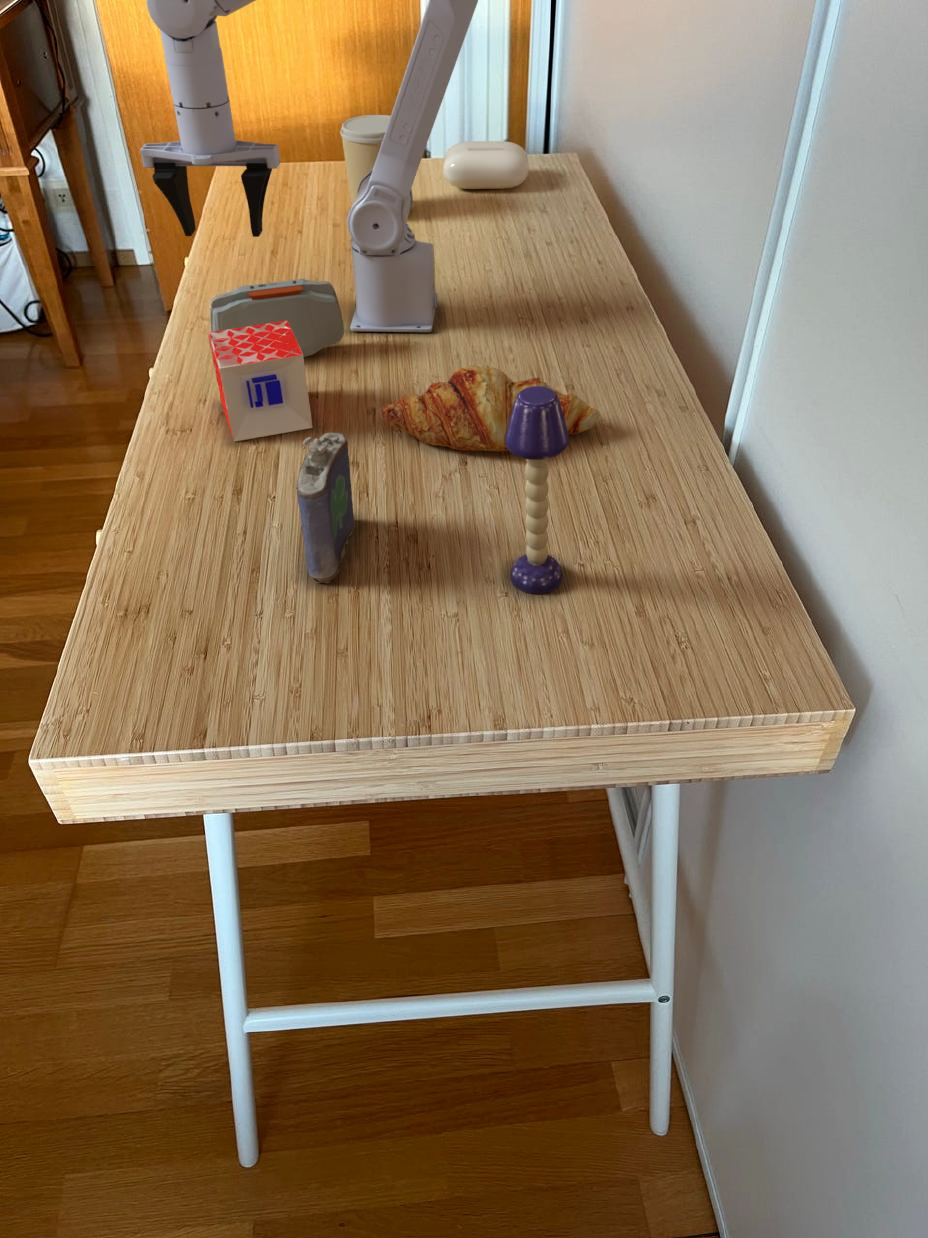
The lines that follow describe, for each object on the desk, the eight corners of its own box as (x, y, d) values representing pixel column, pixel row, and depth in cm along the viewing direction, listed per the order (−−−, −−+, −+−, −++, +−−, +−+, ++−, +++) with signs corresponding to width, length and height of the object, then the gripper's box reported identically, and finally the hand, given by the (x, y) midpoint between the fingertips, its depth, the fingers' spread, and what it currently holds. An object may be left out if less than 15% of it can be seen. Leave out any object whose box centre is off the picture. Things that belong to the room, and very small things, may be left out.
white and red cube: (297, 391, 104) (287, 320, 99) (312, 427, 99) (303, 354, 93) (221, 404, 102) (207, 332, 97) (232, 442, 97) (218, 368, 92)
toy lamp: (518, 601, 78) (523, 416, 67) (493, 568, 82) (495, 386, 71) (571, 585, 80) (585, 401, 69) (545, 553, 83) (554, 372, 72)
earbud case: (444, 172, 157) (443, 136, 153) (526, 172, 156) (527, 135, 153) (442, 194, 149) (441, 156, 145) (529, 194, 149) (530, 156, 145)
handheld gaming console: (343, 341, 113) (336, 272, 108) (348, 353, 111) (341, 283, 105) (215, 358, 110) (202, 289, 105) (218, 370, 108) (204, 300, 103)
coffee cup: (410, 224, 140) (405, 133, 132) (344, 224, 140) (336, 133, 132) (413, 201, 147) (409, 113, 139) (350, 201, 147) (343, 113, 139)
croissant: (590, 445, 102) (592, 365, 100) (607, 453, 92) (610, 364, 90) (385, 447, 101) (383, 366, 99) (379, 454, 92) (377, 365, 90)
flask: (334, 586, 80) (319, 474, 73) (299, 583, 81) (281, 471, 73) (359, 519, 87) (348, 411, 80) (327, 517, 87) (313, 409, 80)
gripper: (120, 111, 100) (150, 246, 109) (262, 112, 99) (280, 247, 108) (141, 93, 105) (168, 222, 114) (276, 93, 104) (292, 223, 113)
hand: (224, 233), depth 112 cm, fingers open, 7 cm apart
